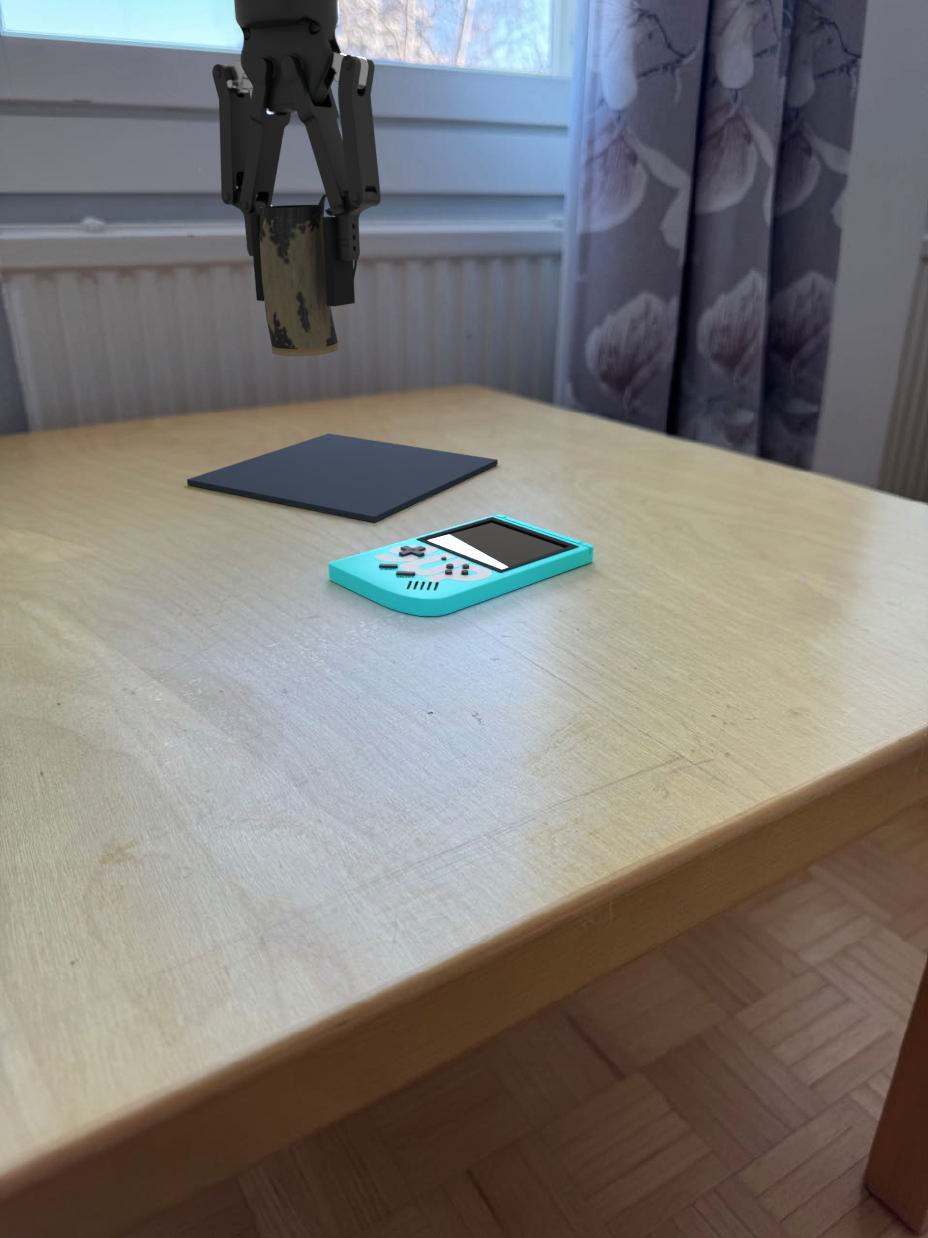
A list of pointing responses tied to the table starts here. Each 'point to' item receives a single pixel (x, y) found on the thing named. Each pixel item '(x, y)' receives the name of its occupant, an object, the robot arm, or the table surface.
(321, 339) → the mug
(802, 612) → the table surface
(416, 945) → the table surface
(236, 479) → the mat
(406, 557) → the handheld game console
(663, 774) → the table surface
